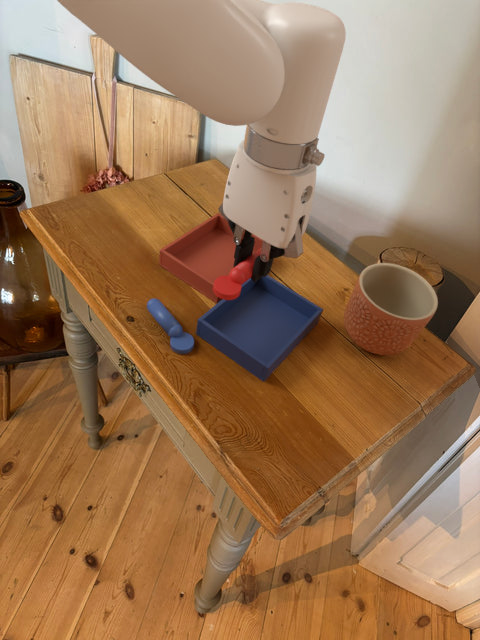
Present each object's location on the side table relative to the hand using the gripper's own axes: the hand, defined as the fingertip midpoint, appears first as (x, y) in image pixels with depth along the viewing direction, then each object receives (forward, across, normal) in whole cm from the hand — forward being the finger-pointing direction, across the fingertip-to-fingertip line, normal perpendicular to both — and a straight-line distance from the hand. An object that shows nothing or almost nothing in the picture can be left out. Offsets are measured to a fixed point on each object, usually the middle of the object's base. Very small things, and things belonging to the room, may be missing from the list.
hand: (250, 270), depth 63 cm
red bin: (+14, +13, -11) cm, 23 cm away
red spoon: (0, 0, +2) cm, 2 cm away
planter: (+14, -16, -17) cm, 28 cm away
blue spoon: (+14, +8, +6) cm, 18 cm away
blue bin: (+14, -2, -4) cm, 15 cm away
